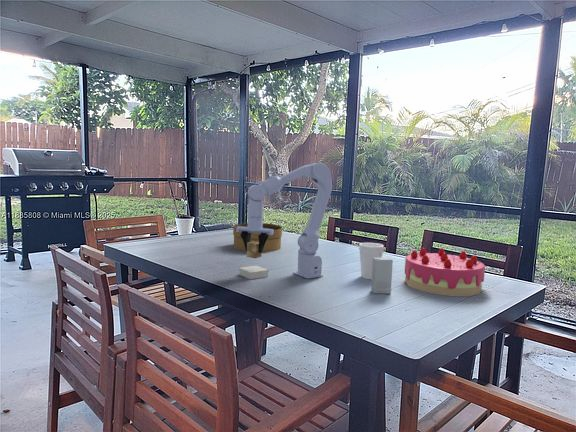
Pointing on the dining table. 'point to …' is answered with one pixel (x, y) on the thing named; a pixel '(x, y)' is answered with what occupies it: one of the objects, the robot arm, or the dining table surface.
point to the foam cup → (369, 257)
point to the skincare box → (381, 275)
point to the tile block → (253, 272)
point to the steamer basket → (270, 245)
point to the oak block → (253, 250)
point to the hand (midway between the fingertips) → (254, 251)
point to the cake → (444, 273)
